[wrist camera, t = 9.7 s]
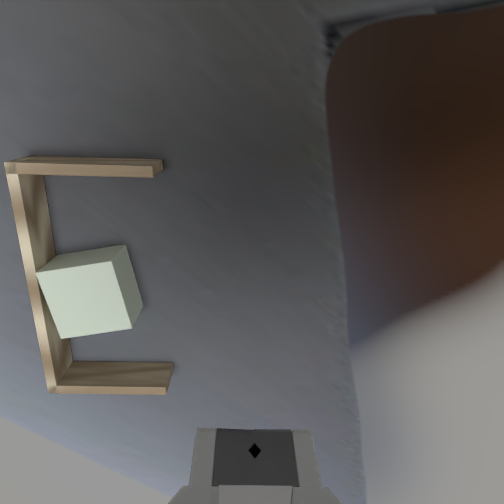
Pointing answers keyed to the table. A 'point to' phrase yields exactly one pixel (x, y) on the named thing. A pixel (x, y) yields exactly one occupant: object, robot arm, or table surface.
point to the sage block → (91, 291)
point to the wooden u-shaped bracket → (43, 250)
